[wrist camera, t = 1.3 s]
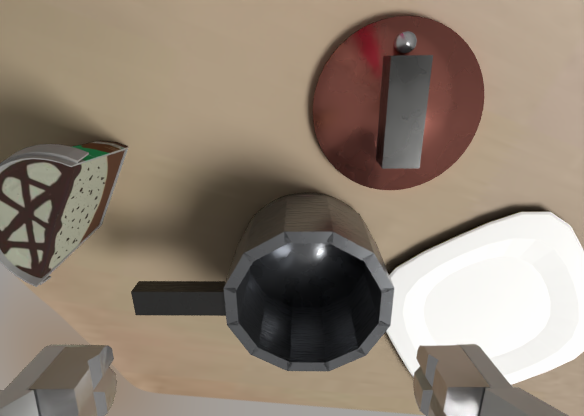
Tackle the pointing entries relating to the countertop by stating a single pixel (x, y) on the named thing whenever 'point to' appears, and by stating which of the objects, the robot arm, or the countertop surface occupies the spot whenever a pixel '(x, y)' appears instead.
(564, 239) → the plate
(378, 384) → the countertop surface
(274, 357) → the pot
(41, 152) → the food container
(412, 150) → the lid
